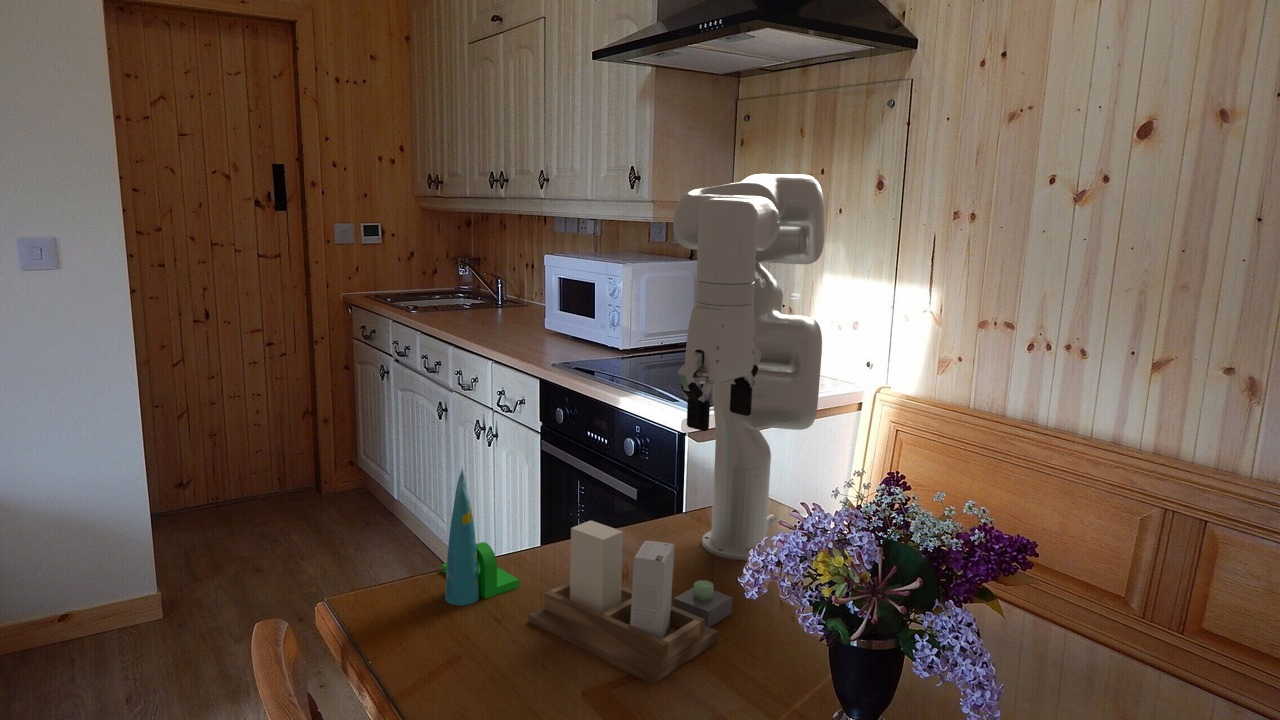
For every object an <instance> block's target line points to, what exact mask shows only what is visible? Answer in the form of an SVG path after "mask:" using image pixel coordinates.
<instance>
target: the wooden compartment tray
mask: <svg viewBox="0 0 1280 720" xmlns="http://www.w3.org/2000/svg"><path fill="white" fill-rule="evenodd" d="M631 600H632V588H631V589H630V588H628V587H626V586H623V585H621V604H620V605H618V606H616V607H614V608H612V609H610V610H609V611H607V612H605V613H600V612H598V611H596V610H594V609H591V608H589V607H587V606H584V605H582V604H580V603H578V602H575V601H573V600H571V599H570V580H569V581H567V582H564V583H562V584H561V585H559V586H556V587H554V588H552V589H549V590H548V591H546V592H544V606H543V607H542V608H540V609H538V610H536V611H533V612H531V613H529V614H528V623H530V622H531V623H530V624H532V625H533V626H536V625H537V626H536V627H538V628H540V627H541V628H540V629H542V628H543V629H542V630H544V629H545V630H544V631H546V630H547V631H549V632H551V633H553V634H554V636H555V635H556V637H557V636H559V637H560V639H561V638H562V640H563V639H564V641H565V640H566V642H567V641H568V642H567V643H569V642H570V644H572V645H573V646H576V647H578V648H580V649H581V650H584V651H586V652H588V653H589V654H592V655H594V656H595V657H597V658H600V659H601V660H603V661H605V662H607V663H609V664H611V665H613V666H615V667H617V668H619V669H621V670H622V671H625V672H627V673H629V674H631V675H632V676H635V677H637V678H638V679H640V680H643V681H645V682H646V683H648V684H651V685H655V684H656V683H658V682H660V681H661V680H662V679H664V678H665V677H667V676H668V675H670V674H671V673H673V672H675V671H676V670H677V669H678V668H680V667H682V666H683V665H685V664H686V663H688V662H689V661H690V660H692V659H694V658H695V657H696V656H698V655H700V654H702V652H704V651H706V650H707V649H708V648H710V647H711V646H713V645H715V644H716V643H717V642H718V640H719V639H718V638H719V637H718V636H719V631H718V630H716V629H715V628H712V627H707V626H705V619H703V618H701V617H698V616H696V615H693V614H691V613H688V612H686V611H683V610H681V609H678V608H676V607H674V605H671V616H670V626H669V628H668V630H667V632H666V634H665V636H664V638H663V639H660V638H658V637H655V636H653V635H651V634H648V633H646V632H644V631H642V630H639V629H637V628H635V627H632V626H630V618H631ZM547 631H546V632H547ZM549 632H548V633H549ZM551 633H550V634H551ZM553 634H552V635H553ZM559 637H558V638H559Z"/></svg>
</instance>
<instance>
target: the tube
mask: <svg viewBox="0 0 1280 720" xmlns="http://www.w3.org/2000/svg"><path fill="white" fill-rule="evenodd" d="M463 469H464V468H463V467H461V471H460V473H459V477H458V481H457V485H456V490H455V496H454V502H453V508H452V514H451V520H450V529H449V536H448V537H449V538H448V547H447V559H446V563H447V572H446V573H445V574H446V576H445V577H446V578H445V580H446V581H445V595H444V596H445V598H444V599H445V601H446V603H448V604H450V605H453V606H469V605H471V604H475V603H476V602H478V600H479V599H480V595H479V580H478V563H477V549H476V544H477V543H476V542H477V541H476V532H475V526H474V518H473V511H472V505H471V500H470V496H469V491H468V487H467V486H468V485H467V482H466V477H465V473H464V470H463Z"/></svg>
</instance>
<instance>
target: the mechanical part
mask: <svg viewBox="0 0 1280 720" xmlns="http://www.w3.org/2000/svg"><path fill="white" fill-rule="evenodd" d="M476 549H477V563H478V580H479V596H481V597H482V598H483V599H489V598H492V597H495V596H498V595H500V594H503V593H506V592H509V591H512V590H515V589H519V588H520V579H519V578H518V577H516V576H514V575H512V574H511V573H509V572H507V571H505V570H503V569H502V568H500V567H499V566H498V561H497V558H496V554H495V551H494V550H493V548H492V546H490V544H489V543H487V542H485V541H483V542H482V541H481V542H478V543H476ZM443 569H445V570H443ZM441 572H442V573H445V574H446V572H447V562H446V563H443V564H441Z"/></svg>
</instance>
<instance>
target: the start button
mask: <svg viewBox="0 0 1280 720" xmlns="http://www.w3.org/2000/svg"><path fill="white" fill-rule="evenodd" d="M693 587H694V599H695V600H697V601H699V602H710V601H712V600H713V590H714V583H713V581H712V582H711V581H709V580H705V579H704V580H703V579H702V580H701V579H700V580H697V581H695V582H694V583H693Z"/></svg>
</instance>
